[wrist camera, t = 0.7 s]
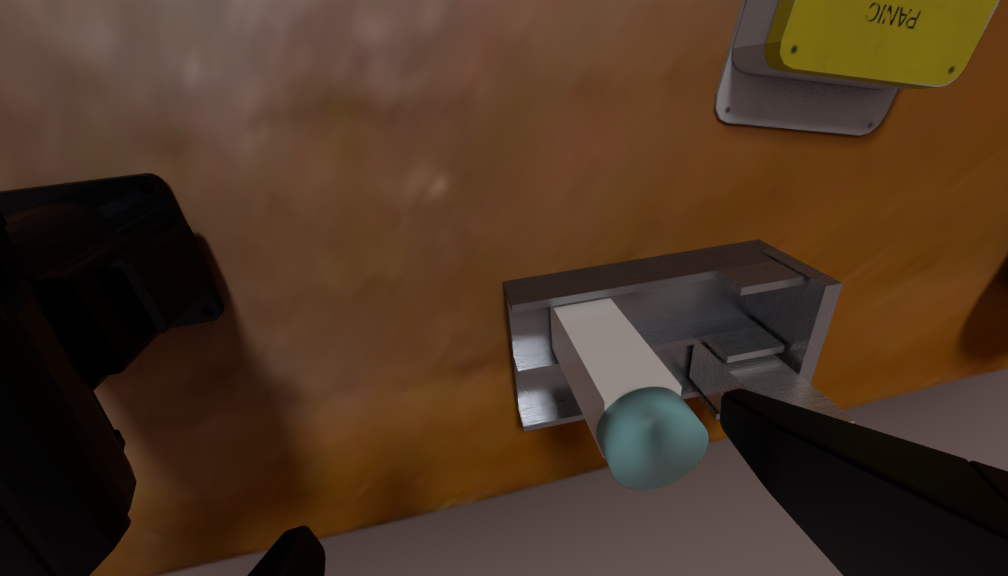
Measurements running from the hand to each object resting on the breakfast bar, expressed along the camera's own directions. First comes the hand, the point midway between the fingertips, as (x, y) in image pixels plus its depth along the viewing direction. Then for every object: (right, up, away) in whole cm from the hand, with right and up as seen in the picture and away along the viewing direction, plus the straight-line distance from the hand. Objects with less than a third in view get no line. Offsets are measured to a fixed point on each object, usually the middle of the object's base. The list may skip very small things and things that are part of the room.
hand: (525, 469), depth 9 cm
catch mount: (+7, +2, +15) cm, 17 cm away
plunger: (+3, +2, +12) cm, 13 cm away
